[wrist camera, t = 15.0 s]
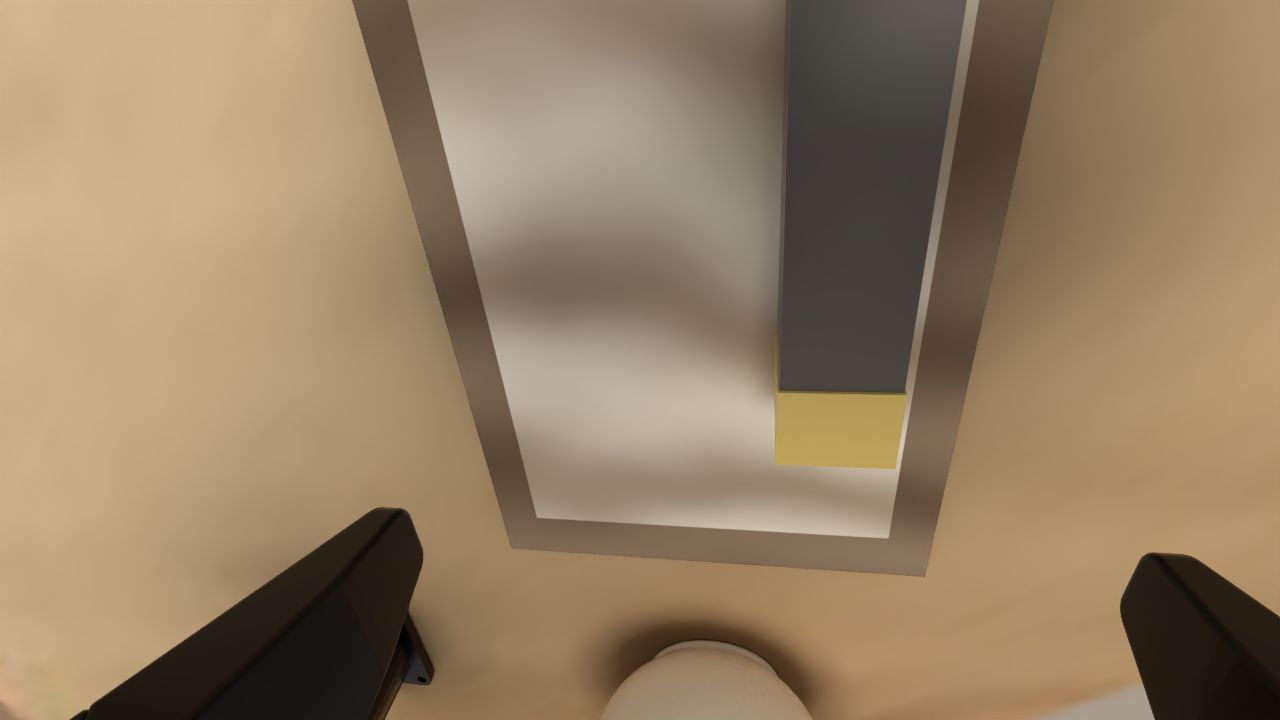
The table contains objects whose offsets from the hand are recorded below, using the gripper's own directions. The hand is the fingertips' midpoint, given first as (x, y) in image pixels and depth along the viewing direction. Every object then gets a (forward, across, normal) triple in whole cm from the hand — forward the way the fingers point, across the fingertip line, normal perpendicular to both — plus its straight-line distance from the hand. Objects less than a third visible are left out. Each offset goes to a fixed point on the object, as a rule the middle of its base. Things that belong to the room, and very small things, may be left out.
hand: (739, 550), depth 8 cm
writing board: (+12, +2, +2) cm, 12 cm away
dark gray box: (+11, -2, -1) cm, 11 cm away
